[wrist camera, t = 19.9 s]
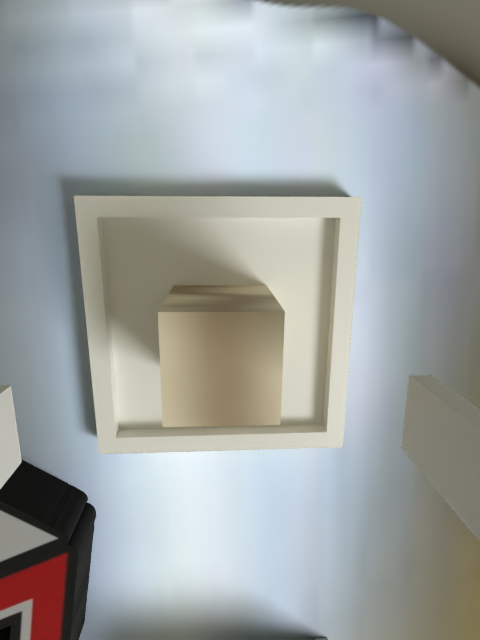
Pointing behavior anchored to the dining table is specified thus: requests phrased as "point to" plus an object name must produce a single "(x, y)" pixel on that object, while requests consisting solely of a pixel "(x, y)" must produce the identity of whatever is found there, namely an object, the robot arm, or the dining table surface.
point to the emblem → (43, 556)
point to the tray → (217, 269)
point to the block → (221, 356)
